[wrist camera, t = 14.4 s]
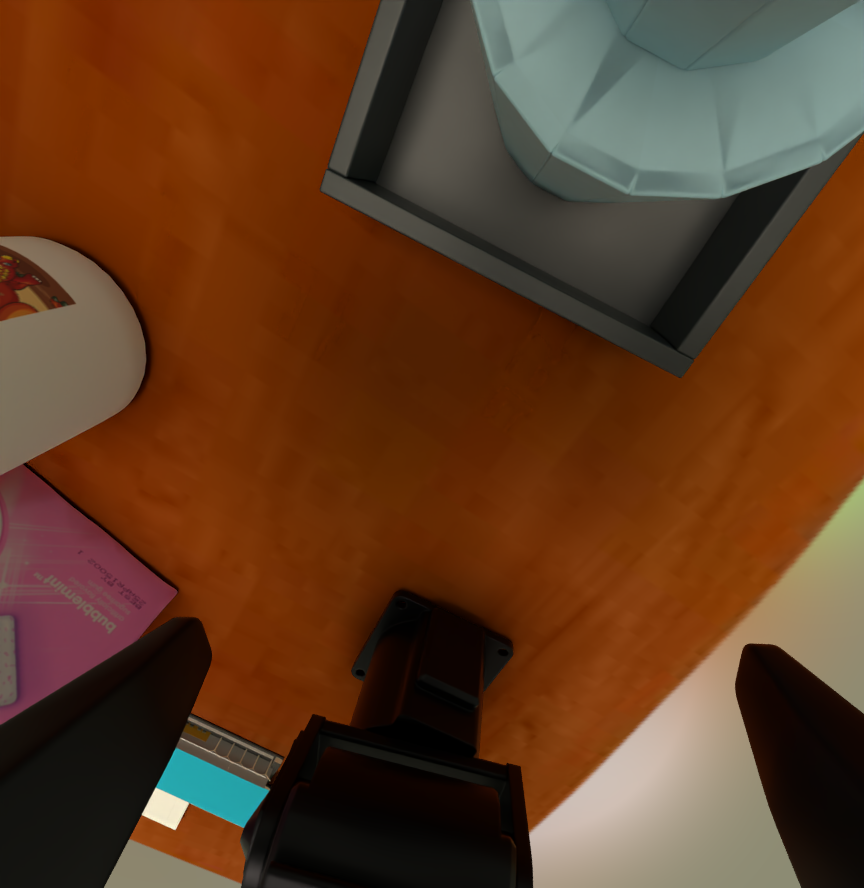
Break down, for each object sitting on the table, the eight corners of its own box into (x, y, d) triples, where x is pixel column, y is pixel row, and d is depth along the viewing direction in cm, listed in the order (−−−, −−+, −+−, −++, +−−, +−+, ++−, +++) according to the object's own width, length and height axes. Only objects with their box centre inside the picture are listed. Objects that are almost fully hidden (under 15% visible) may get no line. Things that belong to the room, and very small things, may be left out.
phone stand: (28, 749, 36) (7, 772, 35) (49, 647, 31) (26, 669, 30) (283, 865, 38) (273, 892, 36) (344, 786, 32) (335, 814, 31)
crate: (644, 340, 18) (681, 379, 14) (364, 194, 18) (318, 190, 14) (899, -34, 14) (1067, -137, 9) (525, -254, 13) (529, -470, 9)
